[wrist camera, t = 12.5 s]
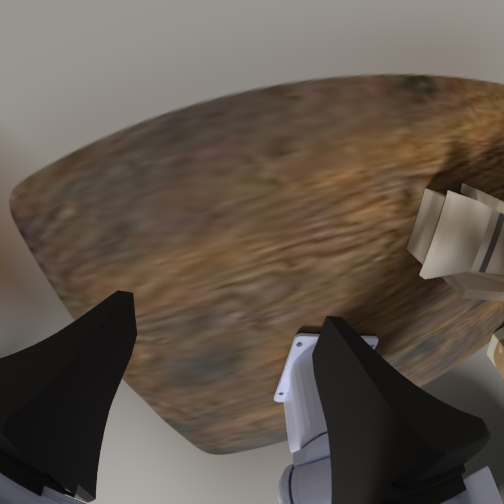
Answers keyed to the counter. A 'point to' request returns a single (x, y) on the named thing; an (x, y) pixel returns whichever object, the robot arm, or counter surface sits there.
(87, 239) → the counter surface
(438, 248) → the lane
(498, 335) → the skincare box
